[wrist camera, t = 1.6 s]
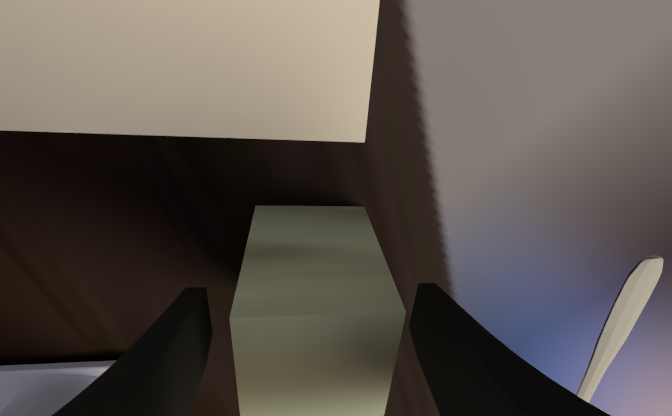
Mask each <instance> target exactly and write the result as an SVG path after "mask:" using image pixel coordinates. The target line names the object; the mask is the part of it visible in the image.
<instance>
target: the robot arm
mask: <svg viewBox="0 0 672 416" xmlns="http://www.w3.org/2000/svg"><path fill="white" fill-rule="evenodd" d="M409 328H410V332H411V336H412V341H413V344H414V348H415V352H416V355H417V358H418V360H419V363H420V365H421V368H422V370H423V373H424V376H425V378H426V381H427V383H428V386H429V388H430V391H431V393H432V396H433V398H434V401H435V403H436V406H437V408H438V411H439V413H440V416H610V415H609V414H607V413H605V412H603V411H601V410H600V409H598V408H596V407H595V406H593V405H591V404H590V403H588V402H586V401H585V400H583V399H581V398H580V397H578V396H577V395H575V394H573V393H572V392H570V391H569V390H567V389H565V388H564V387H562V386H561V385H559V384H558V383H556V382H555V381H553V380H552V379H550V378H549V377H547V376H546V375H544V374H543V373H541V372H540V371H539V370H537V369H536V368H534V367H533V366H531V365H530V364H529V363H527V362H526V361H525V360H523V359H522V358H520V357H519V356H518V355H516V354H515V353H514V352H513V351H511V350H510V349H509V348H508V347H506V346H505V345H504V344H503V343H502V342H500V341H499V340H498V339H497V338H495V337H494V336H493V335H492V334H490V333H489V332H488V331H487V330H486V329H485V328H484V327H483V326H481V325H480V324H479V323H478V322H477V321H476V320H475V319H473V318H472V317H471V316H470V315H469V314H468V313H467V312H466V311H465V310H464V309H463V308H461V307H460V306H459V305H458V304H457V303H456V302H455V301H454V300H453V299H452V298H451V297H450V296H449V295H448V294H447V293H445V292H444V291H443V290H442V289H441V288H440V287H439V286H438V285H437V284H435V283H420V284H418V288H417V293H416V297H415V301H414V306H413V310H412V314H411V319H410V323H409ZM211 338H212V326H211V319H210V312H209V305H208V299H207V292H206V287H201V288H186V289H184V290H183V291H182V293H181V294H180V295H179V296H178V297H177V298H176V299H175V300H174V301H173V303H172V304H171V305H170V306H169V307H168V308H167V309H166V310H165V311H164V313H163V314H162V315H161V316H160V317H159V318H158V319H157V320H156V321H155V322H154V323H153V324H152V325H151V327H150V328H149V329H148V330H147V331H146V332H145V333H144V334H143V335H142V336H141V337H140V338H139V339H138V340H137V341H136V342H135V343H134V344H133V345H132V346H131V347H130V348H129V349H128V350H127V351H126V352H125V353H124V354H123V355H122V356H121V357H120V358H119V359H117V360H113V361H91V362H70V363H48V364H26V365H4V366H0V416H190V413H191V410H192V407H193V404H194V401H195V398H196V395H197V392H198V388H199V385H200V382H201V379H202V376H203V373H204V369H205V366H206V363H207V358H208V353H209V348H210V343H211Z"/></svg>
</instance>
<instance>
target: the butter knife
mask: <svg viewBox="0 0 672 416" xmlns="http://www.w3.org/2000/svg"><path fill="white" fill-rule="evenodd" d="M662 267H663V259H662V257H660V256H649V257H646V258H644V259H642V260H641V261H639V262H638V264H637V265H636V266H635V267H634V268H633V269H632V271H631V272H630V273H629V275H628V276H627V278H626V280H625V282H624V283H623V285H622V288H621V289H620V292H619V293H618V295H617V298H616V299H615V302H614V304H613V306H612V308H611V310H610V312H609V314H608V317H607V319H606V321H605V323H604V325H603V328H602V330H601V332H600V334H599V337H598V339H597V342H596V345H595V348H594V350H593V353H592V356H591V359H590V361H589V364H588V367H587V369H586V372H585V374H584V376H583V379H582V381H581V384H580V386H579V388H578V391H577V393H576V395H577V396H578V397H580V398H581V399H583V400H585V401H586V402H588V403H589V402H590V399H591V397H592V395H593V393H594V391H595V389H596V388H597V386H598V384H599V382H600V380H601V378H602V376H603V374H604V373H605V371H606V369H607V368H608V366H609V364H610V363H611V362H612V360H613V359H614V357H615V355H616V354H617V352H618V351H619V349H620V348H621V346H622V345H623V343H624V342H625V340H626V339H627V337H628V335H629V333H630V331H631V329H632V328H633V326H634V324H635V322H636V321H637V319H638V317H639V315H640V313H641V312H642V310H643V308H644V306H645V304H646V303H647V301H648V299H649V297H650V295H651V293H652V291H653V289H654V287H655V285H656V283H657V281H658V279H659V277H660V275H661V273H662Z"/></svg>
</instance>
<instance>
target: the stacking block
mask: <svg viewBox="0 0 672 416" xmlns="http://www.w3.org/2000/svg"><path fill="white" fill-rule="evenodd" d="M405 315H406V311H405V308H404V306H403V303H402V301H401V298H400V296H399V293H398V291H397V288H396V286H395V283H394V281H393V278H392V276H391V273H390V271H389V268H388V266H387V263H386V261H385V258H384V256H383V253H382V251H381V248H380V246H379V243H378V241H377V238H376V236H375V233H374V231H373V228H372V226H371V223H370V220H369V218H368V215H367V213H366V210H365V208H364V206H255V210H254V214H253V219H252V223H251V227H250V232H249V236H248V240H247V245H246V249H245V253H244V258H243V262H242V266H241V271H240V275H239V279H238V284H237V288H236V292H235V297H234V301H233V305H232V310H231V314H230V326H231V336H232V345H233V354H234V363H235V372H236V381H237V390H238V399H239V408H240V416H384V413H385V408H386V404H387V399H388V394H389V390H390V385H391V380H392V376H393V371H394V366H395V362H396V357H397V352H398V348H399V343H400V338H401V334H402V329H403V324H404V320H405Z"/></svg>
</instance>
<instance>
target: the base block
mask: <svg viewBox="0 0 672 416" xmlns="http://www.w3.org/2000/svg"><path fill="white" fill-rule="evenodd" d="M379 1H380V0H0V130H3V131H34V132H64V133H95V134H125V135H156V136H186V137H217V138H247V139H278V140H308V141H338V142H365V134H366V125H367V115H368V106H369V96H370V87H371V77H372V68H373V58H374V49H375V39H376V30H377V20H378V11H379Z"/></svg>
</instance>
